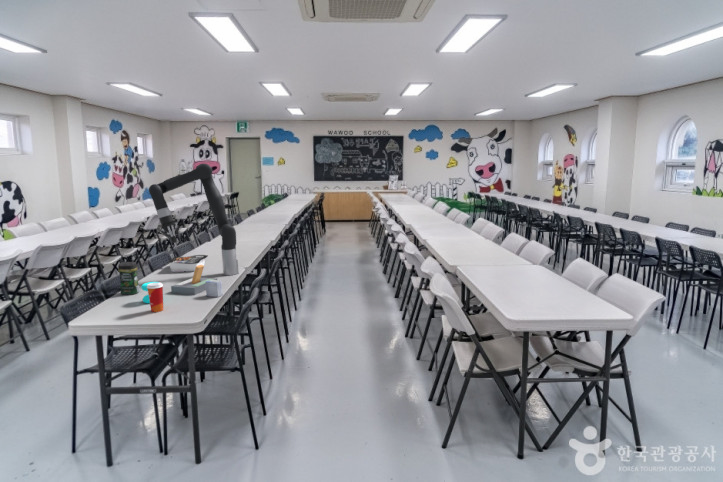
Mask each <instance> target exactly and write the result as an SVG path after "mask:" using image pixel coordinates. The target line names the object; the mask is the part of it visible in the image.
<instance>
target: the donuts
mask: <svg viewBox="0 0 723 482" xmlns="http://www.w3.org/2000/svg"><path fill="white" fill-rule="evenodd" d="M157 282H158V283H159V281H149V282H145V283H143V284H142V285H141V286H140V288H141V289H140V290H142V291H144V292H148V288H147V285H148V284H150V283H157ZM142 302H143V303H144V304H150V300H149V294H146V295H144V296H143V297H142Z"/></svg>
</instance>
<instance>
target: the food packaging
mask: <svg viewBox="0 0 723 482" xmlns="http://www.w3.org/2000/svg"><path fill="white" fill-rule="evenodd" d="M208 256H209V255H208V254H207V255H205V254H196V255H190V256H174V257H173V258H172V259H171V260H170V261H168V262H167V263H166V265H168V264H169V267H170V271H171V272H172V273H180V272H184V271H186V272H195V268H196V266H199V265H203V266H204V267H205V262H206V261H205V259H206V258H208ZM184 273H185V272H184Z"/></svg>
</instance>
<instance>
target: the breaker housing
mask: <svg viewBox="0 0 723 482" xmlns="http://www.w3.org/2000/svg"><path fill="white" fill-rule="evenodd" d="M192 279H193V277H191V278H189V279H186V280H184V281H182V282H178V283H176V284H174V285H171V286H170V289H171V294H179V295H191V296H192V295H193V296H195V295H197V294H201V293H203V292H205V291H206V283H205V282H206V281H208V280H218V278H215V277H214V278H213V277H202V276H201V278H200V282H199V283H196V284H191V282H192Z"/></svg>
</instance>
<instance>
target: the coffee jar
mask: <svg viewBox="0 0 723 482" xmlns="http://www.w3.org/2000/svg"><path fill="white" fill-rule="evenodd" d="M117 269H118V270H117V271H118V272H119V276H120V289H119V291H120V294H121V295H127V296H130V295H135V294H139V293H140V291H141V289H140V285H139V280H138V273H137V271H138V265H137V263H136V261H122V262H120V263H118V266H117Z"/></svg>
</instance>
